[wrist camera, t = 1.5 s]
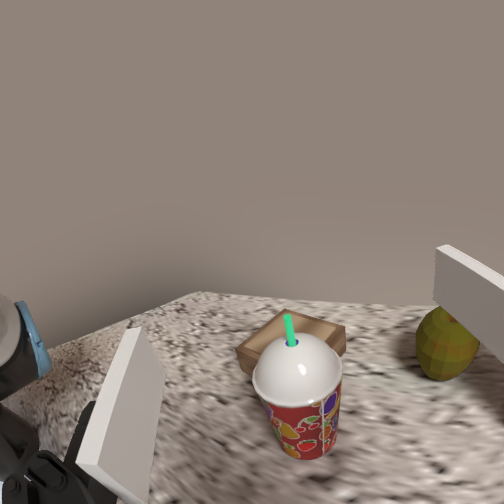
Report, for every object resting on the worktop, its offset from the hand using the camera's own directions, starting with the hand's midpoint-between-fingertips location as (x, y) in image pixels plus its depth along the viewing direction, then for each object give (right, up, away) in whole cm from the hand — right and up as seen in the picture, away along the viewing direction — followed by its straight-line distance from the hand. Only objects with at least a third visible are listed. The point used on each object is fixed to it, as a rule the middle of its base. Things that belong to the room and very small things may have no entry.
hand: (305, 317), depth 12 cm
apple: (+26, -14, +23) cm, 37 cm away
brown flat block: (+5, -15, +33) cm, 37 cm away
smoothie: (+5, -21, +19) cm, 28 cm away
